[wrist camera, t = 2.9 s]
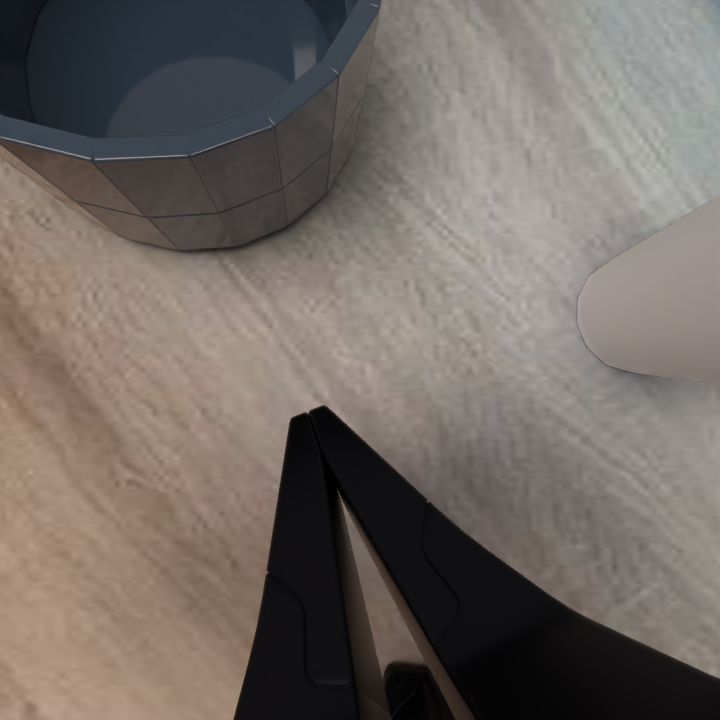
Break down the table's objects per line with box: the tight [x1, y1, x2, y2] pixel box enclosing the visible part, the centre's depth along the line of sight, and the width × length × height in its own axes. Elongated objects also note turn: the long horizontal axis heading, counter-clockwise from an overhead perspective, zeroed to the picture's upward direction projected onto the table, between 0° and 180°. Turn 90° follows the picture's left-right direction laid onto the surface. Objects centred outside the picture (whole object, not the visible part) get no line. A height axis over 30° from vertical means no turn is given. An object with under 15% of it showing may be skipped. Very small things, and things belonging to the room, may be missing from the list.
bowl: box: [0, 0, 382, 250], centre depth 16 cm, size 16×16×8 cm
